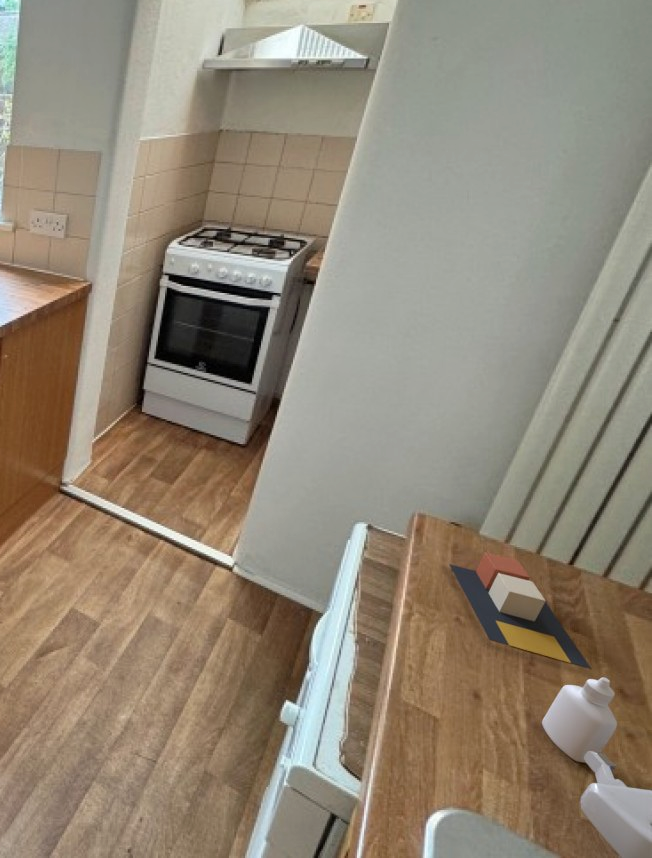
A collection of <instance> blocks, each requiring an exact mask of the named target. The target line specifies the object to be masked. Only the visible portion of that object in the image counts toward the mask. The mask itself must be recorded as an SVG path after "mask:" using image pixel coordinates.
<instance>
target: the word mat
mask: <svg viewBox="0 0 652 858" xmlns="http://www.w3.org/2000/svg"><path fill="white" fill-rule="evenodd" d="M448 565H449V567H450V569H451V571H452V572H453V575H454V576H455V578H456V580H457V582H458V585H460V588H461V589H462V591H463V593H464V595H465V597H466V599H467V601H468V602H469V604H470V606H471V608H472V611H473V612H474V615H476V618H477V619H478V622H479V623H480V625H481V627H482V628H483V630H484V632H485V634H486V636H487V638H488V640H489V641H492V642H496V643H499V644H503V645H507V646H509V647H513V648H517V649H519V650H524V651H527V652H530V653H534V654H537V655H540V656H544V657H548V658H551V659H554V660H558V661H561V662H563V663H564V662H565V663H568V664H572V665H575V666H579V667H583V668H586V669H590V670H592V667H591V666H590V664H589V663H588V661H587V660H586V658H585V657H584V656H583V654H582V652H581V651H580V650H579V648H578V647H577V645H576V644H575V642H574V641H573V639H572V638H571V636H570V635H569V634H568V632H567V631H566V629H565V628H564V626H563V625H562V623H561V622H560V620H559V619H558V618H557V616H556V615H555V613H554V612H553V610H552V608H551V607H550V606H549V604H548V603H547V601H545V603H544V605H543V607H542V609H541V610H540V612H539V614H538V616H537V618H536V620H535V621H531V620H527V619H524V618H520V617H516V616H513V615H509V614H505V613H502V612H499V610H498V609H497V607H496V605H495V603H494V602H493V600H492V598H491V597H490V595H489V591H490V590H489V589H486V588H485V586H484V585H483V583H482V581H481V580H480V578H479V576H478V574H477V573H476V570H475V569H470V568H466V567H463V566H459V565H454V564H448Z"/></svg>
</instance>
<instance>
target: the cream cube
mask: <svg viewBox="0 0 652 858" xmlns="http://www.w3.org/2000/svg"><path fill="white" fill-rule="evenodd" d="M489 595H490V597H491V598H492V600H493V602H494V603H495V605H496V607H497V609H498V610H499V612H502V613H505V614H509V615H513V616H516V617H520V618H524V619H527V620H531V621H535V620H536V618H537V616H538V614H539V612H540V610H541V609H542V607H543V605H544V603H545V602H546V600H545V598H544V596H543V595H542V593H541V592H540V591H539V589H538V587H537V586H536V584H535V583H534V582H533V581H531V580H524V579H520V578H516V577H512V576H508V575H504V574H500V573H498V574H497V576H496V579H495V581H494V583H493V585H492V587H491V589H490V591H489Z"/></svg>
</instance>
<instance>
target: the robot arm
mask: <svg viewBox="0 0 652 858" xmlns="http://www.w3.org/2000/svg"><path fill="white" fill-rule="evenodd" d="M584 760H585V762H586V763H585V764H586V765H588V767H589V768H590V769H591V770H592V771H593V772H594V775H595V779H596V782H592V783H590V784H589V785H588V786H587V787H586V789H585V790H584V792H583V793H582V795H581V796H580V798H579V799H580V800H579V801H580V808H581V811H582V812H583V814H584V815H585V817H586V818H587V819H588V821H589V822H590V823H591V824H592V826H593V827H594V828H595V829H596V831H597V832H598V833H599V834H600V835H601V836H602V837H603V839H604V840H605V841H606V842H607V843H608V845H609V846H610V847H611V848H612V849H613V850H614V851H615V852H616V853H617V854H618V856H619V857H620V858H652V790H651V789H643V788H636V787H630V786H629V787H628V786H627V785H626V783H624V782H623V781H622V780H621V779H619V778H615V777H614V774H613V771H615V769H616V768H617V765H616V764H615V763H614V762H613V761H612V760H611V759H609V757H608V756H607V754H606V753H604V752H601V753H599V752H592V751H588V752H587V753H586V755H585V756H584Z"/></svg>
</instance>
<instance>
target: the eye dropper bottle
mask: <svg viewBox="0 0 652 858" xmlns="http://www.w3.org/2000/svg"><path fill="white" fill-rule="evenodd" d="M610 682H611V681H610V679H608V678H607V677H604V676H602V677H600V678H599V679H594V678H589V679H587V680H586V681H585V683H584V685H583V686H580V685H573V684H566V685H563V687H561V689H560V690H559V692H558V694H557V695H556V697H555V699H554V700H553V702H552V703H551V705H550V707H549V709H548V710H547V712H546V713H545V715H544V717H543V719H542V721H541V725H542V727H543V729H544V731H545V733H546V735H547V736H548V737H549V739H550V740H551V741H552V742H553V743H554V745H556V746H557V747H558V749H560V751H561V752H563V753H564V754H565V755H566V756H568V757H569V758H570V759H571V760H573V761H576V762H578V763H584V764H587V763H586V762H585V760H584V756H585V755H586V753H587V752H588V751H592V752H599V753H602V751H603V750H604V749H605V747H606V745H607V744H608V742H609V741H610V739H611V738H612V736H613V734H614V732H616V729H617V726H618V722H617V720H616V717H615V716H614V713H613V712H612V710H611V708H610V707H609V705H610V703H611V702H612V701H613V699H614V697H615V694H616V693H615V691H614V690H613V689H612V688H611V687H610Z"/></svg>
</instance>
